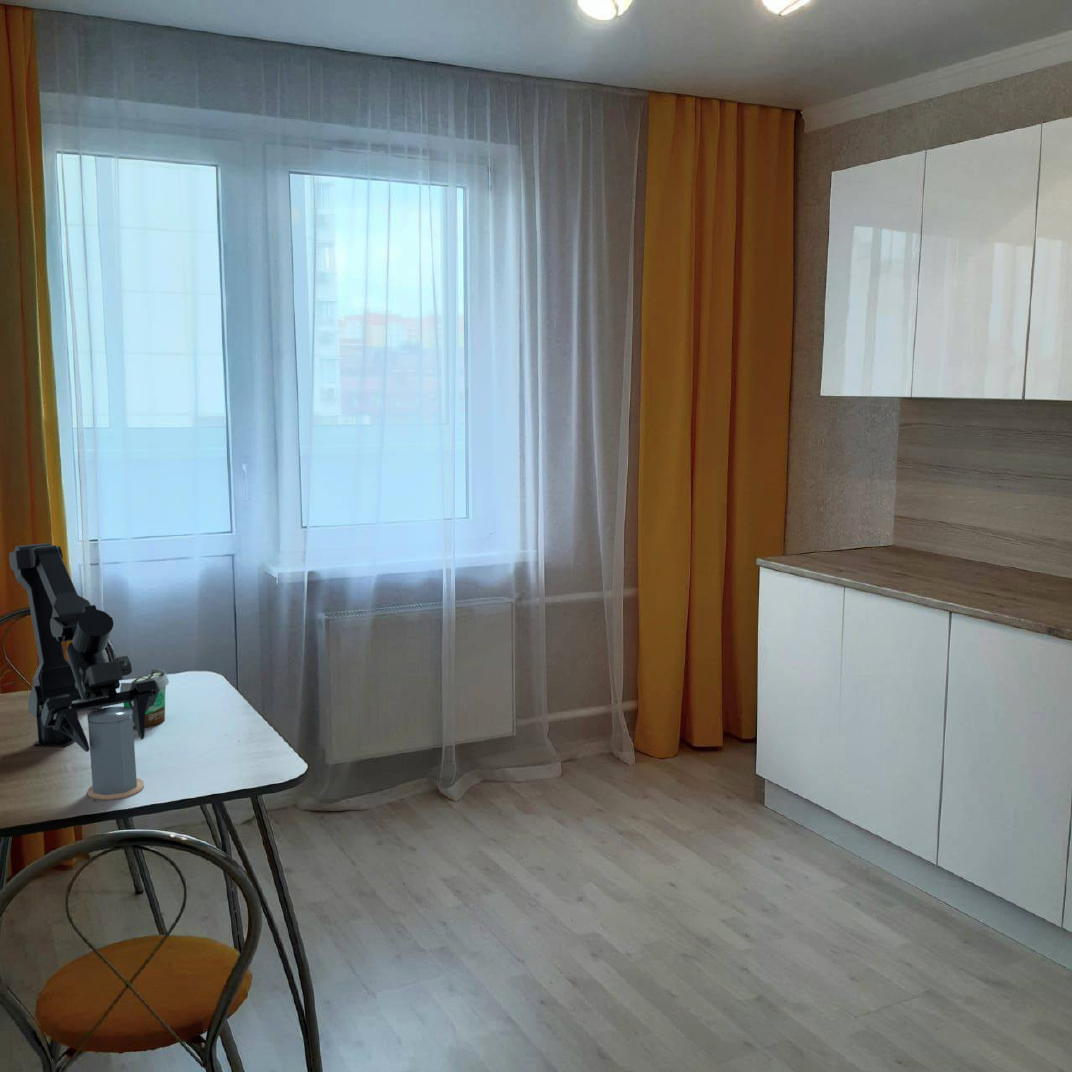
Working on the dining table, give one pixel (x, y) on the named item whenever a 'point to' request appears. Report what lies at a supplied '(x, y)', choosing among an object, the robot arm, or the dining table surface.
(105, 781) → the blue-gray container
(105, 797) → the terracotta coaster
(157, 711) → the food container
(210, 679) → the dining table surface
